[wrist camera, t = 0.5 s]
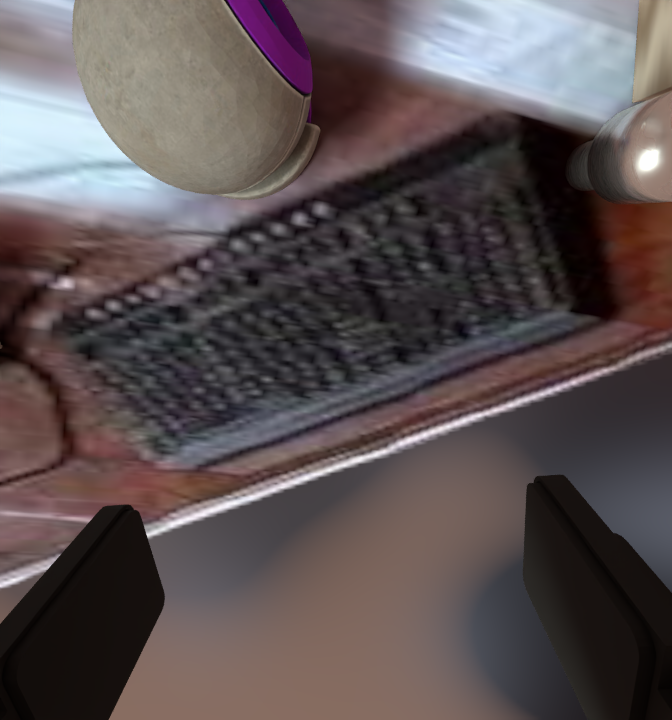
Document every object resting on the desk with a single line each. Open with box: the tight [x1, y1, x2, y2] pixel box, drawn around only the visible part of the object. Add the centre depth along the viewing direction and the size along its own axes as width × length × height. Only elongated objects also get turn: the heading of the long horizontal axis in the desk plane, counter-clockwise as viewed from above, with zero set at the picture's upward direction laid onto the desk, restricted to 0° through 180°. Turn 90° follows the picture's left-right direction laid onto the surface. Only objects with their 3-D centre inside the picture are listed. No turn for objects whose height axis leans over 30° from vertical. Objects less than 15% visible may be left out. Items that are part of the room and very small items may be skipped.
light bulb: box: [565, 91, 672, 204], centre depth 28 cm, size 6×6×10 cm
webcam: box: [72, 0, 320, 200], centre depth 25 cm, size 13×13×15 cm
